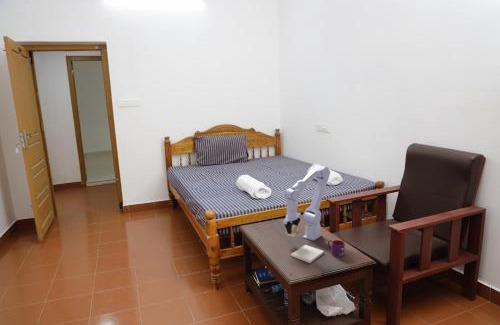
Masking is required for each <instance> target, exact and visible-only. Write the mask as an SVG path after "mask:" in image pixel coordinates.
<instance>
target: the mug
mask: <svg viewBox="0 0 500 325" xmlns="http://www.w3.org/2000/svg"><path fill="white" fill-rule="evenodd" d="M330 242H331V244H330ZM345 245H346V244H345V242H344V241H343V240H341V239H335V240H331V239H330V240H328V242H327V246H328V248H329V249H330V250H331V255H332V256H333V257H334V258H342V257H344V256H345Z"/></svg>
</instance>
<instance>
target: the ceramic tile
mask: <svg viewBox="0 0 500 325" xmlns="http://www.w3.org/2000/svg"><path fill="white" fill-rule="evenodd" d="M324 253H325V251H324V250H321V249H320V248H316V247H313V246H310V245H307V244H304V245H302V246H301V247H300V248H298V249H296V250H295V251H294V252H291V253H290V256H291V257H292V258H295V259H297V260H301V261H303V262H306V263H308V264H311V263H312V262H314V261H315V260H316V259H319V257H320V256H322V255H323V254H324Z"/></svg>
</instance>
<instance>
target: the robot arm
mask: <svg viewBox="0 0 500 325" xmlns="http://www.w3.org/2000/svg"><path fill="white" fill-rule="evenodd" d="M330 175H331V170H330V168H329V167H328V166H323V165H319V164H313V165H312V166H311V167H310V170H309V171H308V173H307V174H306V175H305V177H303V179H300V180H297V181H296V183H295V184H293V185H292V186H291V187H290V188H287V189H286V190H285V191H284V194H283V195H284V198H285V201H286V215H285V217H284V219H283V220H282V224H283V225H284V227H285V231H286V230H287V233H288V234H291V231H292V226H293V224H294V225H297V226H298V227H299V224H300V222H301V217H302V219H303V221H304V223H305V234H304V235H302V238H305V239H307V240H310V241H316V240H317V239H319V238H320V237H321V236H322V234H321V227H322V226H321V220H322V211H320V207H321V203H322V200H323V197H324V194H325V191H326V187H327V183H328V181H329V179H330ZM313 179H315V180H316V181H317V183H316V186H315V189H314V193H313V196H312V199H311V203H310V206H308V207H306V208H305V211H304V212H303V214H302V215H301V213H300V212H298V200H299V198H300V196H301V193H303V191H304V190H305V189H306V188H307V185H308V184H309V183H311V181H313Z"/></svg>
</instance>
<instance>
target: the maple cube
mask: <svg viewBox="0 0 500 325" xmlns="http://www.w3.org/2000/svg"><path fill="white" fill-rule="evenodd" d="M297 235H299V225H298V226H297V225H294V224H293V226H292V231H291V234H288V233H287V230H286V229H285V236H289V237H292V238H294V237H295V236H297Z"/></svg>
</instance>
